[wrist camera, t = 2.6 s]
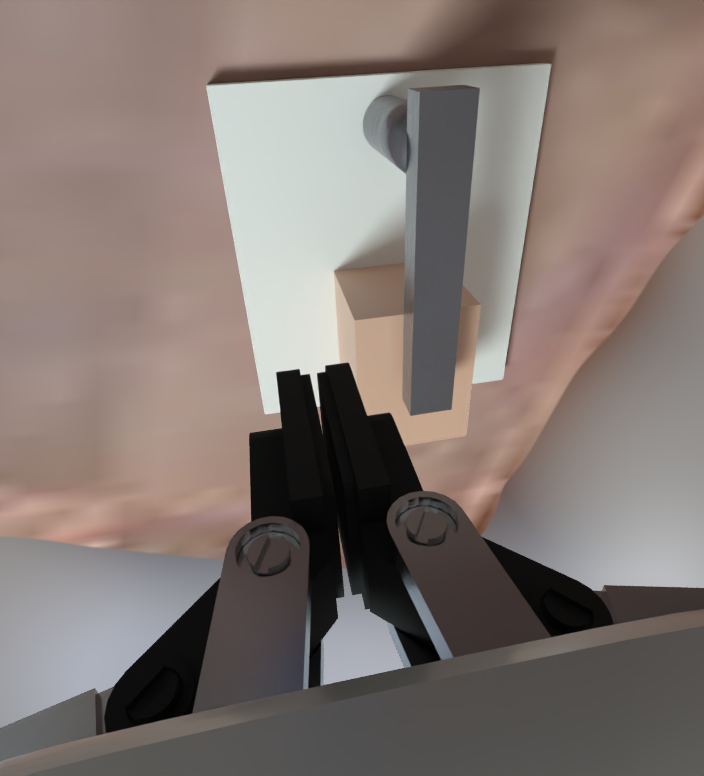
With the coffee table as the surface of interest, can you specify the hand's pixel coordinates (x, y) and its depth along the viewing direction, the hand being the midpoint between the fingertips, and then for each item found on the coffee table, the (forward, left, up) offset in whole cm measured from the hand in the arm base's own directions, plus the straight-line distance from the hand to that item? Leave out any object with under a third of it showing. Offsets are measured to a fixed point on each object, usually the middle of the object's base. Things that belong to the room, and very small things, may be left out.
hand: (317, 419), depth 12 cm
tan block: (+7, +6, -17) cm, 19 cm away
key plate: (+3, +6, -18) cm, 19 cm away
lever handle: (+1, +6, -17) cm, 18 cm away
